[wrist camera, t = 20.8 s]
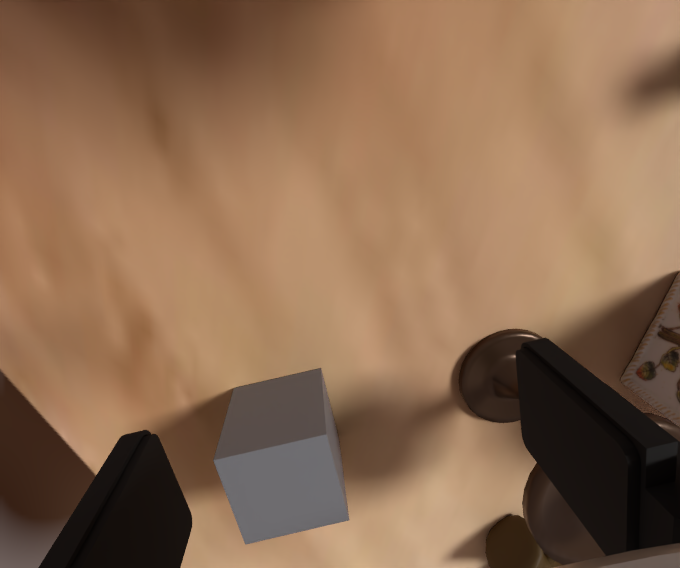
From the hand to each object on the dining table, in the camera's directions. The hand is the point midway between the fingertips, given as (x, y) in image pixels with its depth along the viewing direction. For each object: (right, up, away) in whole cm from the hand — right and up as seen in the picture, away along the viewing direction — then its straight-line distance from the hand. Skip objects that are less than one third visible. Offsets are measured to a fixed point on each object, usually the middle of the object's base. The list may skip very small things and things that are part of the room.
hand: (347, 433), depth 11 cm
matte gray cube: (-5, -8, +27) cm, 28 cm away
